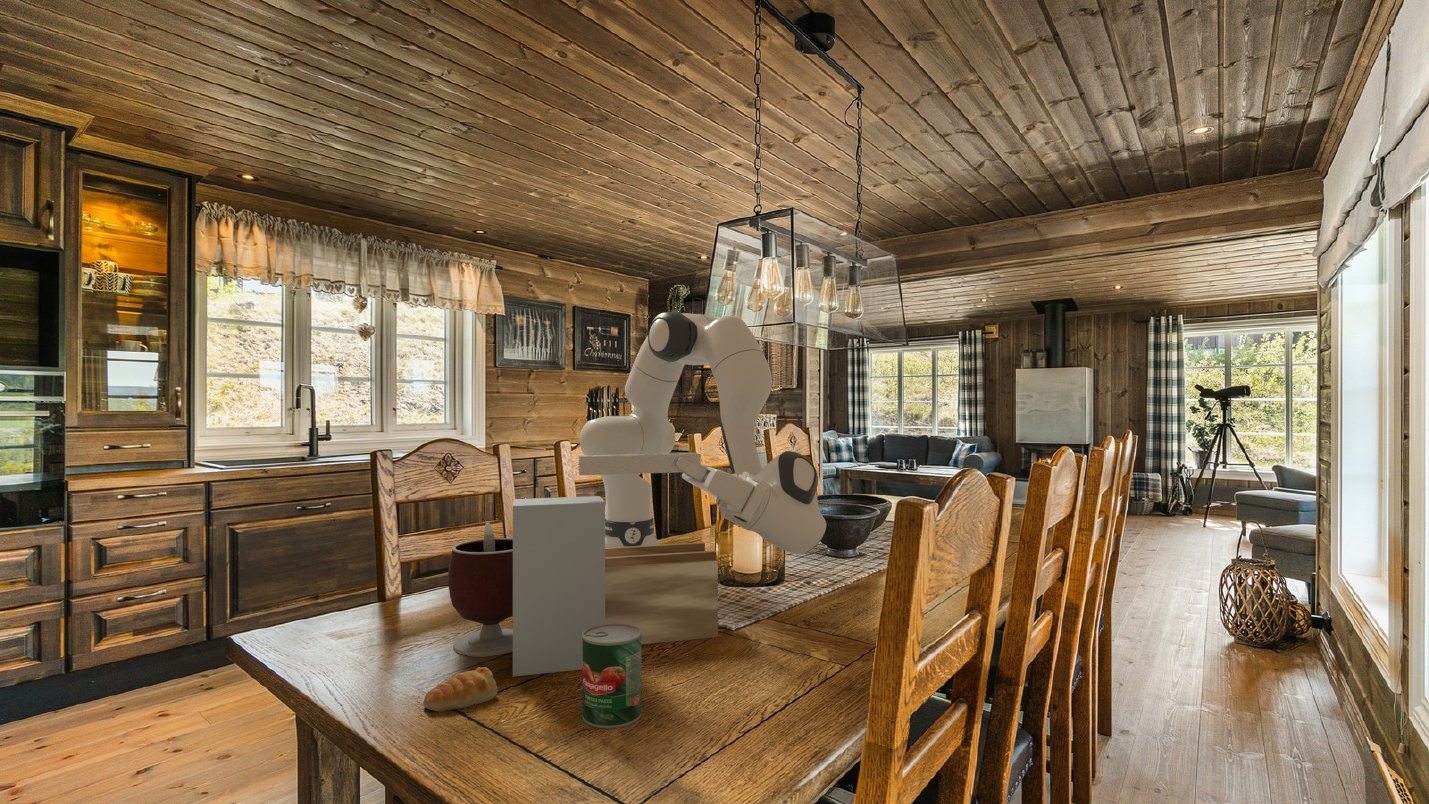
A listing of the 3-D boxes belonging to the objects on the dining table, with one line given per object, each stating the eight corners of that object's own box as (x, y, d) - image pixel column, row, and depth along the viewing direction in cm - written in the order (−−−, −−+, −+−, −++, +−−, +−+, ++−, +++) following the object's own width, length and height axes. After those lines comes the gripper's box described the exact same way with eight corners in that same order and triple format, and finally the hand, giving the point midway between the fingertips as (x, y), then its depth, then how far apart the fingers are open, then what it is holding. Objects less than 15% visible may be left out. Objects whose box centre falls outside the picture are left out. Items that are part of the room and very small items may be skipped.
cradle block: (582, 629, 125) (582, 548, 125) (702, 618, 131) (702, 541, 131) (587, 649, 114) (587, 561, 114) (717, 637, 121) (717, 552, 121)
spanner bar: (578, 473, 111) (578, 455, 111) (696, 470, 117) (696, 452, 117) (580, 475, 108) (579, 456, 108) (700, 471, 114) (700, 453, 114)
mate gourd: (537, 651, 114) (537, 532, 114) (449, 663, 108) (449, 538, 109) (525, 624, 128) (525, 518, 128) (447, 633, 123) (447, 523, 123)
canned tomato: (644, 702, 94) (644, 622, 94) (639, 728, 86) (639, 642, 86) (587, 702, 94) (587, 623, 94) (576, 729, 86) (576, 643, 86)
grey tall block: (513, 658, 111) (513, 499, 111) (599, 649, 114) (599, 496, 115) (512, 676, 103) (512, 506, 103) (605, 667, 107) (605, 502, 107)
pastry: (436, 721, 89) (436, 691, 89) (414, 705, 94) (414, 678, 94) (501, 698, 96) (501, 671, 96) (478, 685, 100) (478, 659, 100)
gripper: (733, 476, 128) (670, 441, 124) (770, 488, 108) (697, 446, 105) (717, 506, 127) (654, 471, 124) (751, 523, 107) (677, 482, 104)
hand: (674, 460), depth 114 cm, fingers closed on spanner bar, 3 cm apart
